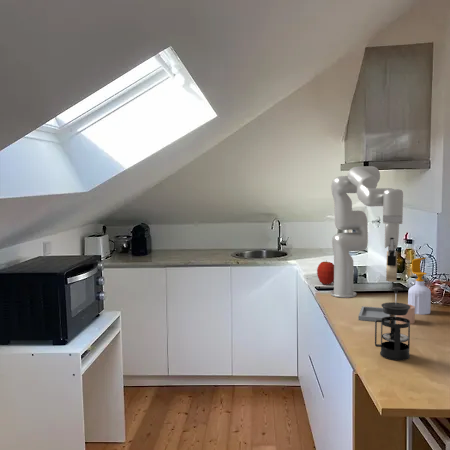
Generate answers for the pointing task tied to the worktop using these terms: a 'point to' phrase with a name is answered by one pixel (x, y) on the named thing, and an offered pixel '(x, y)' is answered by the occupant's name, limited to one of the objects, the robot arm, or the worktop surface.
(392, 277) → the dowel
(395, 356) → the french press
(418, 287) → the soap bottle
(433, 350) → the worktop surface
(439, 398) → the worktop surface
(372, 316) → the tray
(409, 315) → the cup
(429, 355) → the worktop surface
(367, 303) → the worktop surface
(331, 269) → the apple
